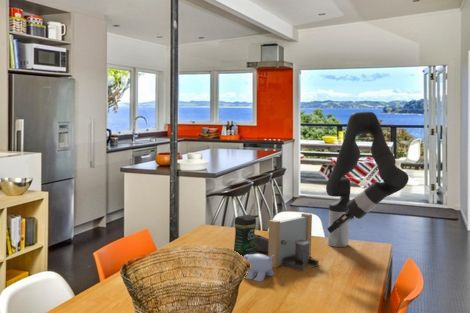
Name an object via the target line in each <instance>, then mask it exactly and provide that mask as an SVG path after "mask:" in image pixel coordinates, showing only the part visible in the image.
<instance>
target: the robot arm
mask: <svg viewBox="0 0 470 313" xmlns="http://www.w3.org/2000/svg"><path fill="white" fill-rule="evenodd" d="M366 134H370V135H371V136H372V138H373V140H372V144H371V147H370V153H371V155H372V158H373V160H374V162H375V164H376V166H377V168H378V170H377V171H378V173H379V174H378V175H379V177H380V178H381V180H382V182H381V181H379V182H378V181H374V182H372V183H370V185H369V186H368V187H366V188H365V189H364V190H362V191H361V192H359V193H358V194H357V195H356V196H354V198H352V199H351V200H350V197H351V180H350V179H349V178H348V177H345V176H346V175H348V174H349V173H351V172H352V171H353V170H354V169H355V168H356V167H357V165H358V163H359V160H360V157H361V150H360V148H359V146H358V143H357V142H356V138H357V136H358V135H366ZM341 144H342V145H341V147H340V148H339V151H338V154H337V156H336V157H337V158H336V162H335V164H334V167H333V169H332V171H331V173H330V175H329V177H328V180H327V182H326V184H325V185H326V186H325V190H326V194H327V195H328V196H330V197H338V199H337V200H336V201H334V202H330V204H329V205H328V227H327V232H328V233H327V245H328V246H330V247H334V248H346V247H347V246H348V245H349V223H350V222H351V221H352V220H354V219H355V218H356V219H360V220H361V219H362V218H363V217H365V216H366V215H367V214H368V213H369V212H370V211H372V210H373V209H374V208H375V207H376V206H377V205H378V204H379V203H381V202H382V201H383V200H384V199H385V198H387V197H389V196H391V195H393V194H396V193H398V192H400V191H401V190H402V189H404V188H405V187H406V186H407V185H408V183H409V177H410V176H409V175H408V174H407V172H406V171H405V170H403V169H400V168H399V167H398V166H396V163H397V161H396V158H395V156H394V154H393V152H392V150H391V149H390V148H389V146H388V144H387V141H386V139H385V136H384V132H383V130H382V127H381V124H380V122H379V118H378V117H377V114H375V113H374V112H373V111H358V112H352V113H351V114H350V116H349V117H348V120H347V125H346V129H345V134H344V138H343V140H342V143H341Z"/></svg>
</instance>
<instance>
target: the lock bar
mask: <svg viewBox="0 0 470 313" xmlns="http://www.w3.org/2000/svg"><path fill="white" fill-rule="evenodd" d="M295 243H296V248H295V263H297V264H300V265H303V267H304V266H306V265H309V258H310V257H309V243H310V241H306V240H302V239H301V240H297V241H295Z"/></svg>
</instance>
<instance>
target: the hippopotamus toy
mask: <svg viewBox="0 0 470 313" xmlns="http://www.w3.org/2000/svg"><path fill="white" fill-rule="evenodd" d="M273 256H274V255H272V256H270V257H268V255H265V254H263V253H255V254H250V255H248V254H247V255H245V256H243V257H244V258H245V259H246V260H248V261H249V263H250V264H251V267H250V270H249V269H248V273H247V275H245V276H246V277H244V278H245V279H247V280H253V281H256V282H264V280H265V277H266V276H267V277H271V276H272V277H273V276H274V274H275V273H274V271H273V266H272V260H271V259H272V257H273Z"/></svg>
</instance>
